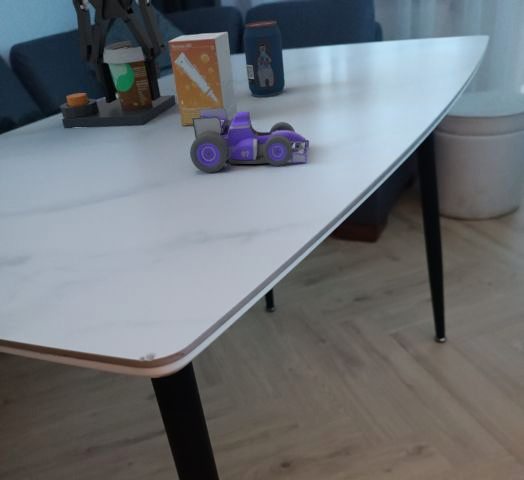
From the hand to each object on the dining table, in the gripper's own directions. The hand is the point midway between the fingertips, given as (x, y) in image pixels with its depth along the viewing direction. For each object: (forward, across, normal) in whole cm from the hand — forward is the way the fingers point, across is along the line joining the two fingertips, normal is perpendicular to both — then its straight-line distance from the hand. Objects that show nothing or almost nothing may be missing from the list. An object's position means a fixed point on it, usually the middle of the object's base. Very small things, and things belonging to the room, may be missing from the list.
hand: (133, 99), depth 110 cm
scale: (+3, +3, 0) cm, 4 cm away
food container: (+1, +1, 0) cm, 1 cm away
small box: (+3, -17, +6) cm, 18 cm away
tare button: (0, +9, +4) cm, 10 cm away
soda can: (+3, -22, -13) cm, 26 cm away
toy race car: (+3, -31, +27) cm, 41 cm away
